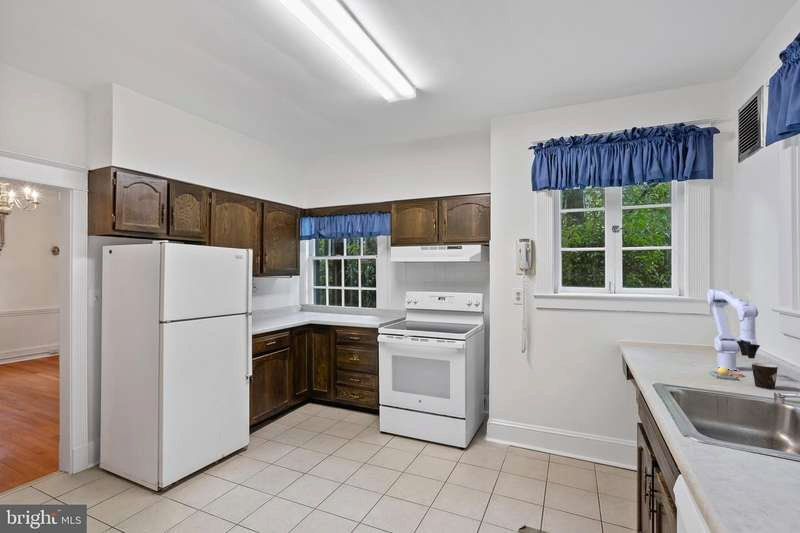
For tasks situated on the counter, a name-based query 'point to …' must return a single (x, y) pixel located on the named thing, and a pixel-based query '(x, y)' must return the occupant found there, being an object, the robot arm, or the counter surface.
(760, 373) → the coffee mug
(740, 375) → the dish
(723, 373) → the ball
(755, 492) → the counter surface
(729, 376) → the tray
